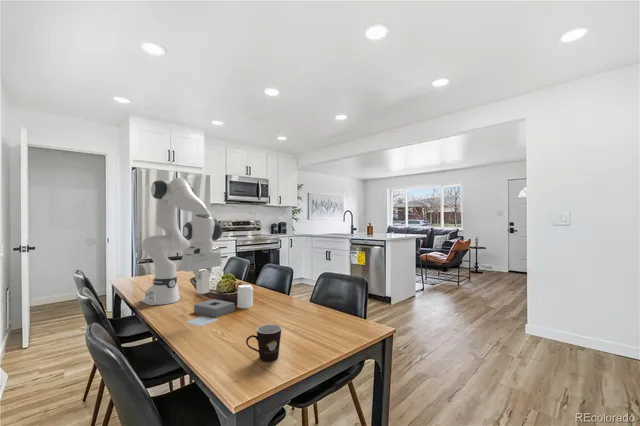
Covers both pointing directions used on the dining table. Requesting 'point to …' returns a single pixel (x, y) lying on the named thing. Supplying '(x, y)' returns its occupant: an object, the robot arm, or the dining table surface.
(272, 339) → the coffee mug
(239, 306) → the beverage can
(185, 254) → the robot arm
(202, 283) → the plug
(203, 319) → the mat
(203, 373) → the dining table surface
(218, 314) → the block
